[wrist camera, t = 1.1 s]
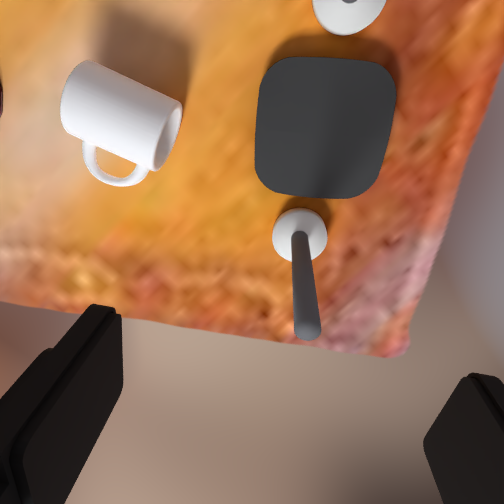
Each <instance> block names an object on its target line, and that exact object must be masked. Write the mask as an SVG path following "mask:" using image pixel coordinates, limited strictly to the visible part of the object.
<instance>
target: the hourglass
mask: <svg viewBox="0 0 504 504" xmlns="http://www.w3.org/2000/svg"><path fill="white" fill-rule="evenodd" d="M1 114H2V90H1V86H0V117H1Z"/></svg>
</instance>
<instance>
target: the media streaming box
mask: <svg viewBox="0 0 504 504" xmlns="http://www.w3.org/2000/svg"><path fill="white" fill-rule="evenodd" d="M395 102H396V88H395V84H394V81H393V79H392V77H391V75H390V74H389V72H388V71H387V70H386V69H385V68H384V67H382V66H381V65H379V64H377V63H375V62H368V61H361V60H352V59H341V58H325V57H288V58H285V59H282V60H280V61H278V62H277V63H275V64H274V65H273V66H272V67H271V68H270V69H269V70H268V71H267V72H266V74H265V75H264V77H263V79H262V82H261V84H260V89H259V97H258V106H257V117H256V131H255V170H256V173H257V175H258V177H259V179H260V181H261V182H262V183H263V184H264V185H265V186H266V187H267V188H269V189H270V190H272V191H274V192H277V193H282V194H287V195H294V196H302V197H312V198H330V199H348V198H352V197H355V196H358V195H360V194H362V193H363V192H365V191H366V190H368V189H369V188H370V187H371V186H372V185H373V183H374V182H375V181H376V179H377V177H378V175H379V172H380V169H381V166H382V162H383V159H384V156H385V152H386V148H387V144H388V140H389V136H390V131H391V126H392V121H393V115H394V109H395Z"/></svg>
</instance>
